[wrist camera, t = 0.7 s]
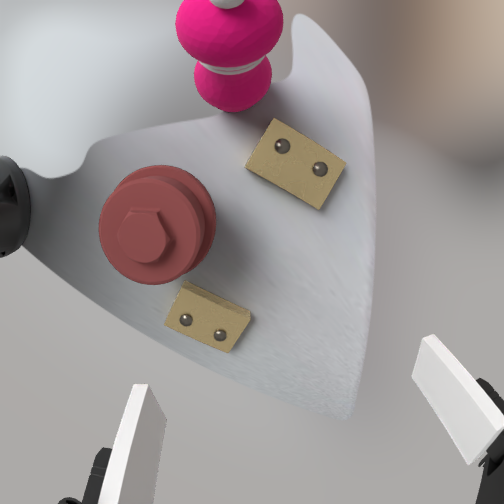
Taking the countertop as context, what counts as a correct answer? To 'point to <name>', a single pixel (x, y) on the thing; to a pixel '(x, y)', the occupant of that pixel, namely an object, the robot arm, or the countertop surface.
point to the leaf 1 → (207, 317)
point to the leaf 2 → (295, 163)
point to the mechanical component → (157, 224)
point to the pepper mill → (230, 48)
